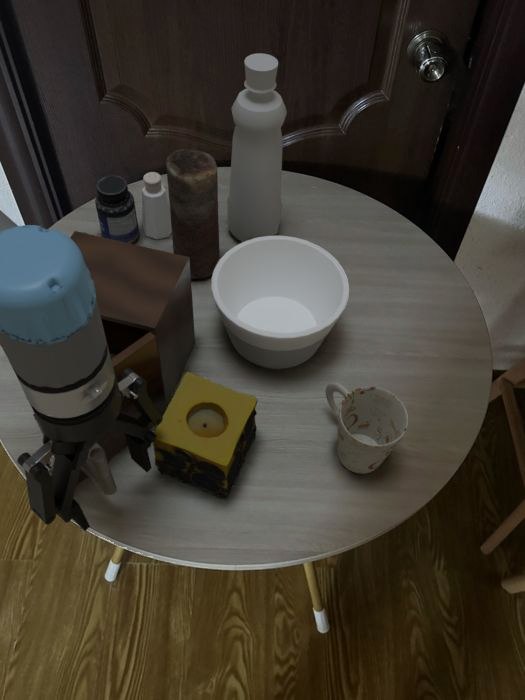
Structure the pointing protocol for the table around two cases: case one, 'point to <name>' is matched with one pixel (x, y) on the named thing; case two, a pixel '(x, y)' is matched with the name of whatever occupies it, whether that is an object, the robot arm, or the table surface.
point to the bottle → (256, 152)
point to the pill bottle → (116, 210)
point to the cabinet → (142, 300)
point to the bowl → (279, 298)
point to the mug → (367, 425)
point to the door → (124, 410)
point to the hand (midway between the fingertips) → (111, 491)
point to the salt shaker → (155, 208)
